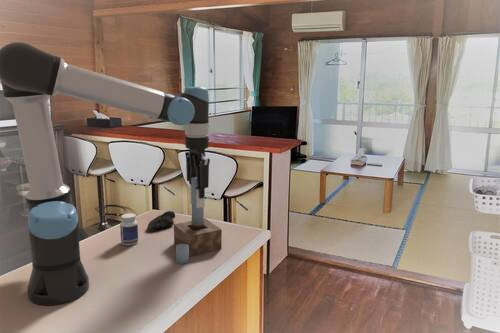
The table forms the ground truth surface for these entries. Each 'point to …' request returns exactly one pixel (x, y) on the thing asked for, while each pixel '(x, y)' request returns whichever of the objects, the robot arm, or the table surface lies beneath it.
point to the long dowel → (196, 212)
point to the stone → (161, 221)
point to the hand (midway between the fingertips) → (197, 204)
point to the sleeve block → (198, 237)
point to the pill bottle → (129, 229)
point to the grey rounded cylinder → (182, 253)
